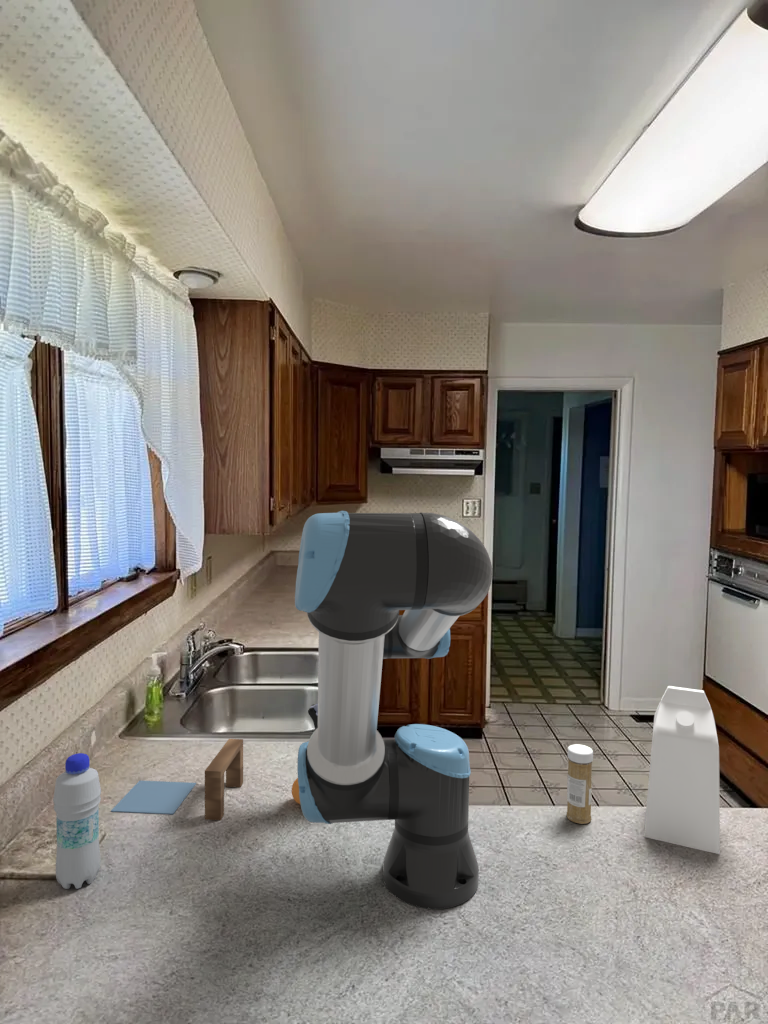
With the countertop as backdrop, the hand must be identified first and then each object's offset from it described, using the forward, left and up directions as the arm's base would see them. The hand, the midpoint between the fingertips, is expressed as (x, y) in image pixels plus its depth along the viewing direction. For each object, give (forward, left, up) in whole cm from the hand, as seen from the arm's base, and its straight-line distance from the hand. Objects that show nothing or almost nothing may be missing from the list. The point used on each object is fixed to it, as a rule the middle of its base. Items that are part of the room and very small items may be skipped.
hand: (340, 791), depth 122 cm
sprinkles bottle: (-2, -45, -3) cm, 45 cm away
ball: (-1, +7, 0) cm, 7 cm away
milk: (-4, -63, -3) cm, 63 cm away
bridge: (-1, +23, -2) cm, 23 cm away
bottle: (-27, +38, -3) cm, 46 cm away
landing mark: (-1, +37, -2) cm, 37 cm away
